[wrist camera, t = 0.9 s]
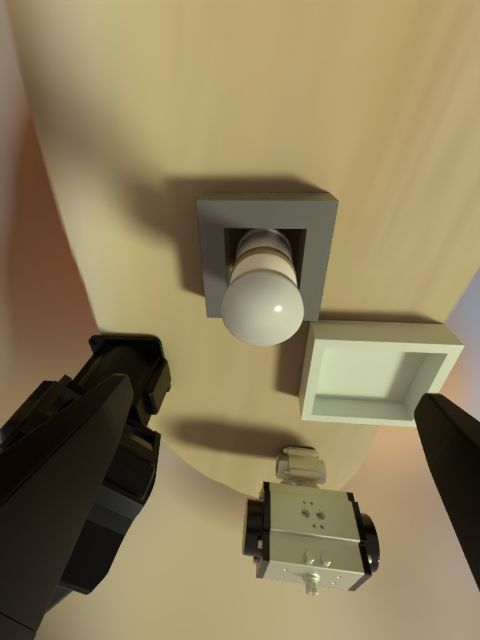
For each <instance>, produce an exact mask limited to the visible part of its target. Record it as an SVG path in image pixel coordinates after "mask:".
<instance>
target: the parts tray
mask: <svg viewBox="0 0 480 640" xmlns="http://www.w3.org/2000/svg"><path fill="white" fill-rule="evenodd" d="M463 348H464V344H463V343H462V342H461V341H460V340H459V339H458V338H457V336H456V335H454V333H453V332H452V331H451V330H450V329H449V328H448V327H447V326H446V325H445V324H426V323H398V322H369V321H341V320H318V321H310V326H309V332H308V339H307V345H306V352H305V358H304V365H303V371H302V378H301V384H300V391H299V397H298V398H299V406H300V415H301V420H308V421H324V422H341V423H357V424H373V425H390V426H405V427H417V426H416V423H415V420H414V410H415V408H416V406H417V404H418V402H419V401H420V399H421V397H422V395H423V394H425V393H438V392H439V390H440V389H441V387H442V385H443V383H444V381H445V380H446V378H447V376H448V375H449V373H450V371H451V369H452V367H453V366H454V364H455V362H456V360H457V358H458V357H459V355H460V353H461V351H462V349H463Z"/></svg>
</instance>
